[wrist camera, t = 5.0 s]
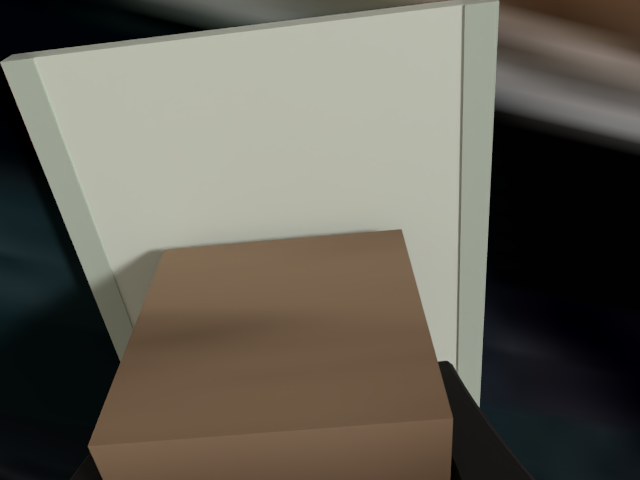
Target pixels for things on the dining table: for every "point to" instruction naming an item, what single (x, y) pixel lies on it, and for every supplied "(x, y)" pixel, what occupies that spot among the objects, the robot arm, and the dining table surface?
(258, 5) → the dining table surface
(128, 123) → the cream tray
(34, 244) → the dining table surface
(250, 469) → the walnut cube
